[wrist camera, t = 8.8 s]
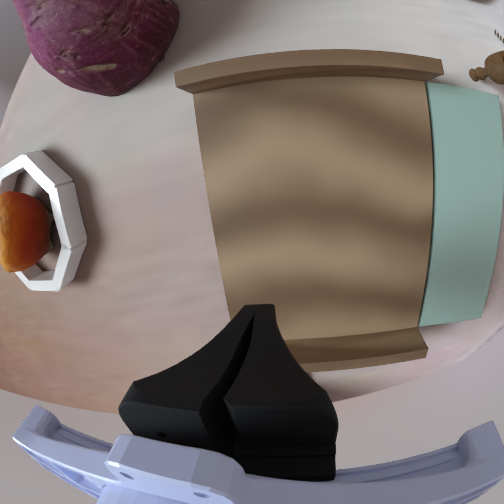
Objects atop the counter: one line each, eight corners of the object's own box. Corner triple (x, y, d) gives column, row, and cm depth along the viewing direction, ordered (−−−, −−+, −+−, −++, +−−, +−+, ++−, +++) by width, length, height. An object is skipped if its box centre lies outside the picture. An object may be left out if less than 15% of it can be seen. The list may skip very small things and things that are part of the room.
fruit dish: (100, 279, 25) (86, 291, 22) (27, 280, 27) (15, 289, 25) (67, 137, 20) (48, 139, 17) (-1, 174, 22) (-16, 179, 20)
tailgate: (416, 318, 22) (475, 311, 20) (419, 326, 21) (480, 317, 19) (421, 84, 15) (490, 96, 13) (427, 81, 14) (498, 95, 12)
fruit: (67, 277, 24) (-2, 294, 17) (50, 243, 27) (-7, 253, 21) (67, 200, 20) (-14, 211, 14) (51, 178, 24) (-12, 184, 18)
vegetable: (108, 20, 18) (9, -41, 3) (198, -4, 15) (105, -114, 1) (75, 109, 19) (-60, 71, 5) (166, 95, 17) (-7, -5, 2)
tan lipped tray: (410, 327, 22) (425, 357, 18) (239, 340, 25) (230, 373, 21) (415, 71, 14) (441, 59, 11) (196, 84, 17) (174, 72, 13)
